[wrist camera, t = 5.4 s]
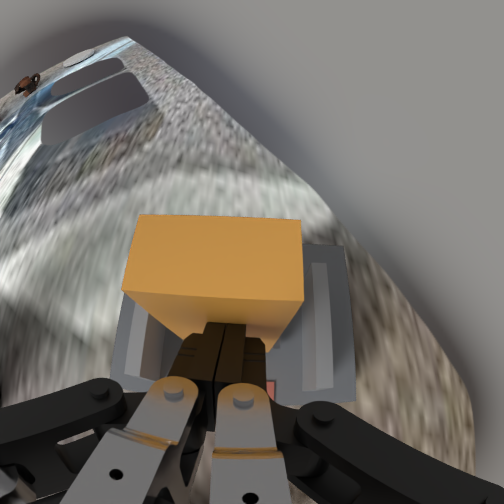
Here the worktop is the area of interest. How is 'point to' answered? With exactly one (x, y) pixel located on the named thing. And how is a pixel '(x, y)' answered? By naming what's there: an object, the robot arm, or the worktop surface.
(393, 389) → the worktop surface
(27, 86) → the brown arched piece
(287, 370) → the switch box
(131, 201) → the worktop surface
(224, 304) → the lever
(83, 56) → the plastic lid
